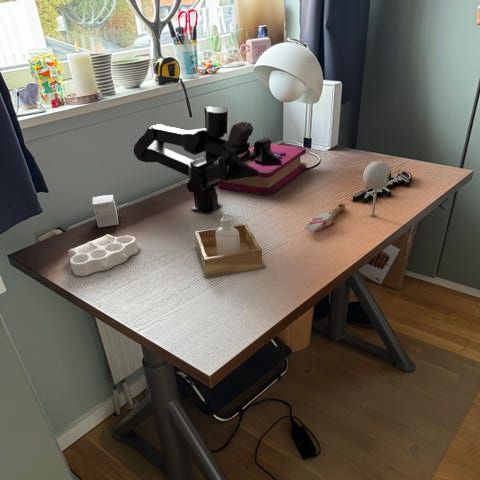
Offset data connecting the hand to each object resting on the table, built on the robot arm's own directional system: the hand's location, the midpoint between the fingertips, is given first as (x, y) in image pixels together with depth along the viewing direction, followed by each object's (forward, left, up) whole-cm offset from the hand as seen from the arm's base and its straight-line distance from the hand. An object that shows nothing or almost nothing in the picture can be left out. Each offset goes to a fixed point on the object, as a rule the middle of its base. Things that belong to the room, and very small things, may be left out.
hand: (270, 168), depth 119 cm
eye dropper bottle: (0, -21, -16) cm, 26 cm away
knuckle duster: (-30, -35, -17) cm, 49 cm away
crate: (-1, -20, -16) cm, 26 cm away
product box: (-46, -18, -17) cm, 52 cm away
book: (-23, +33, -17) cm, 44 cm away
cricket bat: (+12, +9, -17) cm, 22 cm away
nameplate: (+18, +39, -17) cm, 46 cm away
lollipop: (+22, +18, -17) cm, 33 cm away
